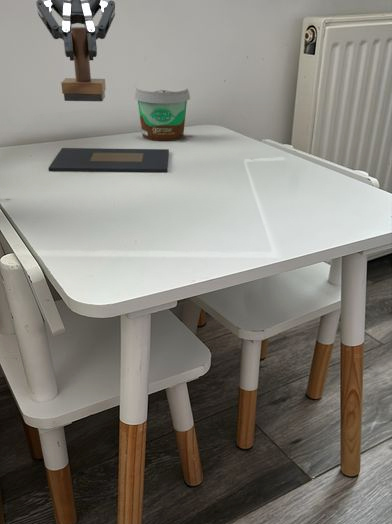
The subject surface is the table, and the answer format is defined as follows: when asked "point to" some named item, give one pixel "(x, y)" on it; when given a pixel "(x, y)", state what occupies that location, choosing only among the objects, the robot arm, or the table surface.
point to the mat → (111, 160)
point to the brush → (82, 72)
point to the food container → (162, 114)
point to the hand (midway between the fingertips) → (81, 56)
